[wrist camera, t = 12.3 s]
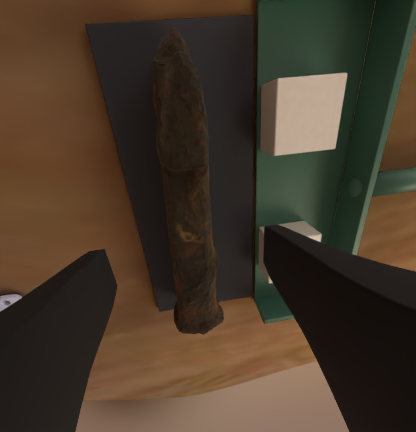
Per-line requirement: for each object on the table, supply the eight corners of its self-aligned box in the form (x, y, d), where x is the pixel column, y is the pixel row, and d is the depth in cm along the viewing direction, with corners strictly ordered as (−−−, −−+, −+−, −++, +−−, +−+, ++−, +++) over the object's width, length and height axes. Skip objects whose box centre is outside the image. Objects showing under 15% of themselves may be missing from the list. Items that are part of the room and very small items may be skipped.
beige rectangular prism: (259, 151, 15) (273, 156, 13) (260, 85, 13) (277, 77, 11) (313, 145, 15) (336, 149, 13) (320, 80, 13) (348, 72, 11)
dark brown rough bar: (217, 295, 20) (228, 342, 16) (174, 300, 19) (174, 349, 15) (222, 46, 12) (247, 6, 8) (151, 44, 12) (136, -2, 7)
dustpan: (253, 300, 21) (264, 324, 19) (256, -7, 11) (278, -43, 9) (401, 275, 22) (429, 294, 20) (514, -19, 13) (597, -53, 10)
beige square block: (258, 265, 19) (268, 284, 17) (258, 226, 17) (270, 242, 15) (299, 258, 19) (315, 276, 17) (304, 220, 18) (322, 233, 15)
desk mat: (159, 308, 20) (159, 311, 20) (87, 26, 11) (85, 23, 11) (250, 293, 21) (252, 296, 20) (251, 17, 12) (253, 14, 12)
